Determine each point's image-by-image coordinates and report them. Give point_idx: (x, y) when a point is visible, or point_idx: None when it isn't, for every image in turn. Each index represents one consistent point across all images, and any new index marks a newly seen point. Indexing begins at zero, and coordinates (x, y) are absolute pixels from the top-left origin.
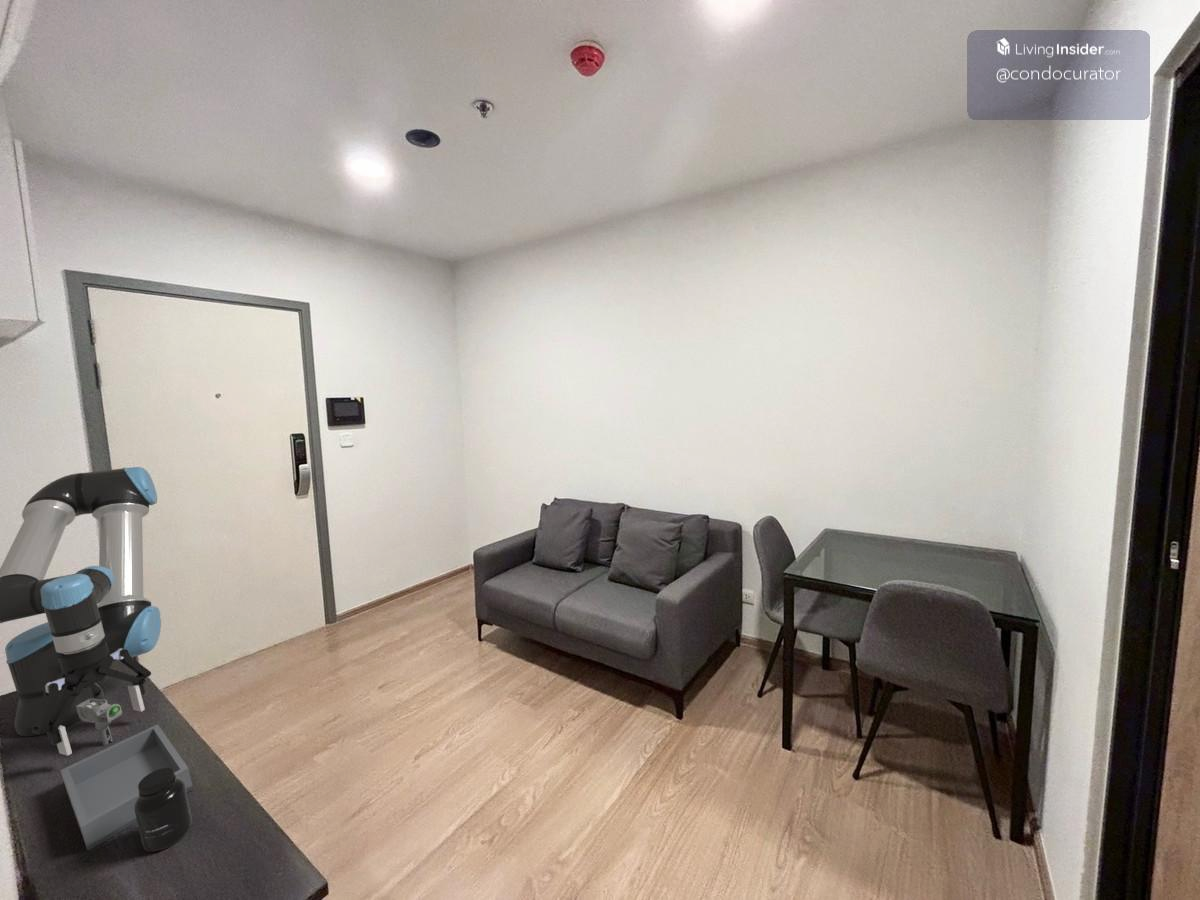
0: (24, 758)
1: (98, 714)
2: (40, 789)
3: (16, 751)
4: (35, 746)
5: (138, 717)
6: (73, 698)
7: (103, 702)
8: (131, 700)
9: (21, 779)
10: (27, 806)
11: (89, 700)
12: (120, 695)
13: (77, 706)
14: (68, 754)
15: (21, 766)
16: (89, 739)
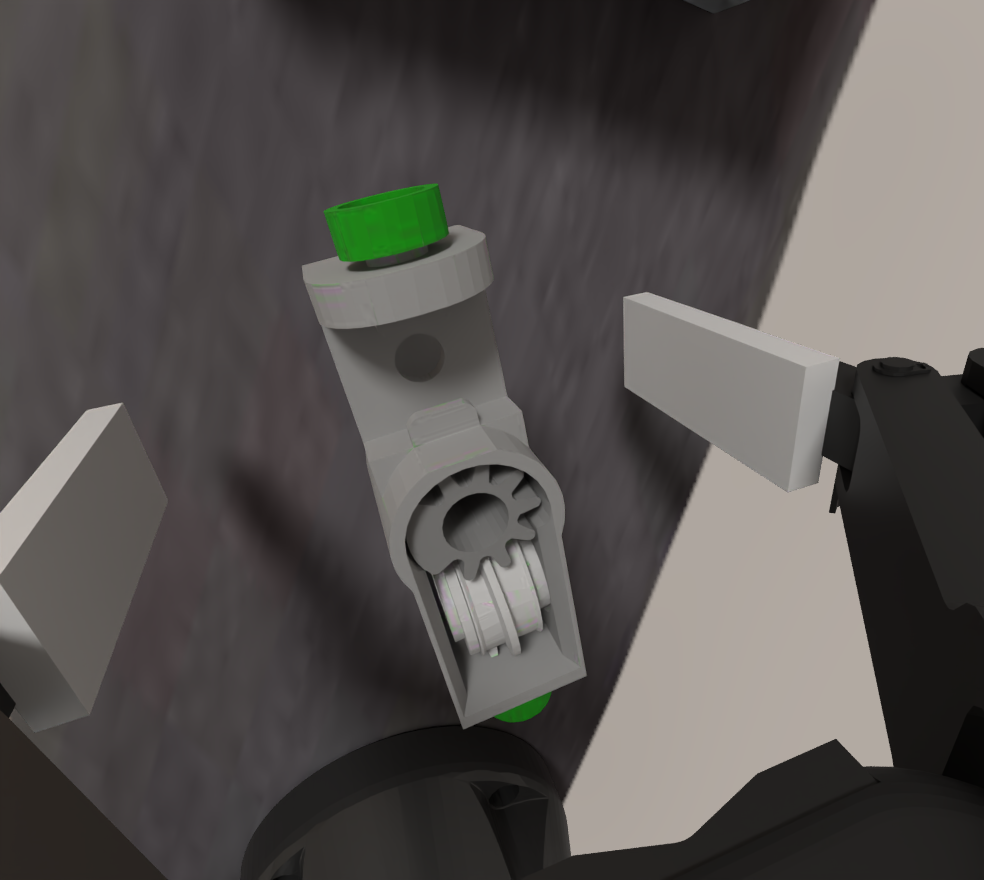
0: (616, 602)
1: (494, 401)
2: (725, 234)
3: (601, 682)
4: None
5: None
6: (980, 577)
7: (420, 532)
8: (142, 555)
9: None
10: (815, 127)
11: (473, 700)
12: (176, 832)
13: (583, 659)
14: (643, 296)
15: (648, 547)
16: None
